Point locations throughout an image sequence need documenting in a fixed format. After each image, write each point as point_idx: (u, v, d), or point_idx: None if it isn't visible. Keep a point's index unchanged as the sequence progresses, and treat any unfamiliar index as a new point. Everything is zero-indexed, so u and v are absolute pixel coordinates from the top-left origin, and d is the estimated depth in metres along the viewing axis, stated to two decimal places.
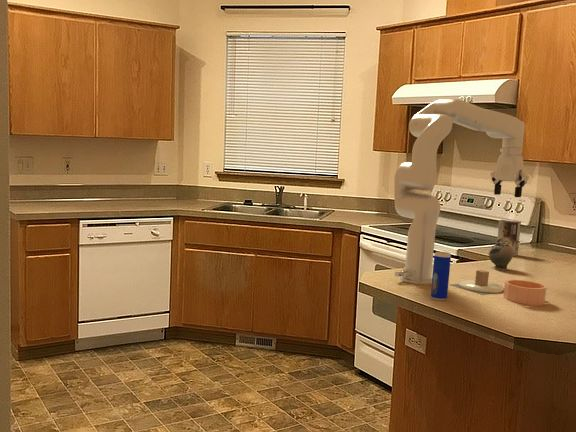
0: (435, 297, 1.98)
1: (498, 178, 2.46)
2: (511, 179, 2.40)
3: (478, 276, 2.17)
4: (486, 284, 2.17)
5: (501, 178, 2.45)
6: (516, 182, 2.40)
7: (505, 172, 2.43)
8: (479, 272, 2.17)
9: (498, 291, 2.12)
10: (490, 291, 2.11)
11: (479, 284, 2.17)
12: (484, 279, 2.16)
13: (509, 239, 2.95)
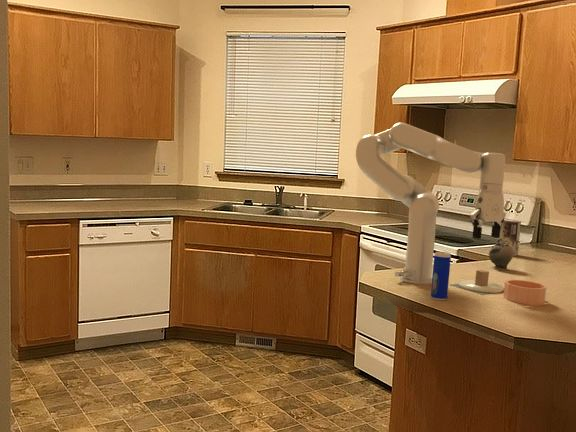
0: (435, 297, 1.98)
1: (488, 220, 2.12)
2: (500, 219, 2.15)
3: (478, 276, 2.17)
4: (486, 284, 2.17)
5: (491, 219, 2.12)
6: (499, 221, 2.17)
7: (495, 212, 2.13)
8: (479, 272, 2.17)
9: (498, 291, 2.12)
10: (490, 291, 2.11)
11: (479, 284, 2.17)
12: (484, 279, 2.16)
13: (509, 239, 2.95)
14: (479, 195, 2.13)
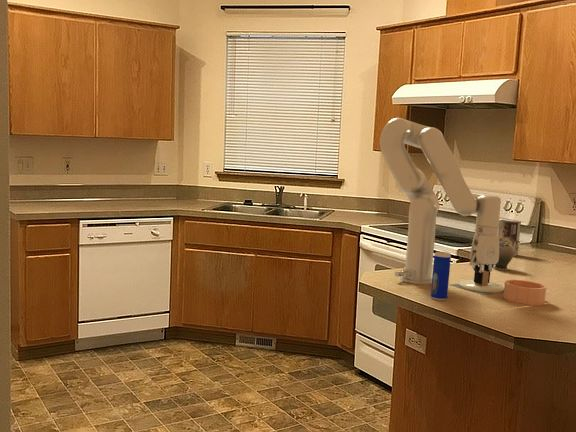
0: (435, 297, 1.98)
1: (484, 262, 2.13)
2: (496, 261, 2.17)
3: None
4: (486, 284, 2.17)
5: (487, 262, 2.14)
6: (490, 266, 2.18)
7: (491, 254, 2.15)
8: None
9: (498, 291, 2.12)
10: (490, 291, 2.11)
11: (479, 284, 2.17)
12: (484, 279, 2.16)
13: (509, 239, 2.95)
14: (475, 237, 2.15)
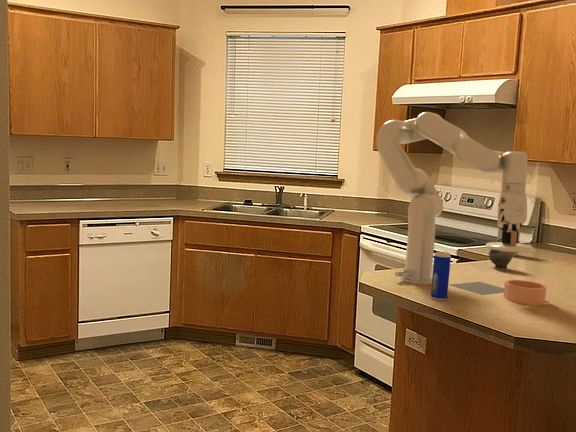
0: (435, 297, 1.98)
1: (512, 221, 2.04)
2: (524, 220, 2.08)
3: None
4: (515, 244, 2.08)
5: (515, 220, 2.05)
6: (518, 225, 2.09)
7: (519, 213, 2.06)
8: None
9: (528, 250, 2.03)
10: (520, 250, 2.02)
11: (507, 244, 2.08)
12: (512, 239, 2.07)
13: None
14: (502, 196, 2.06)
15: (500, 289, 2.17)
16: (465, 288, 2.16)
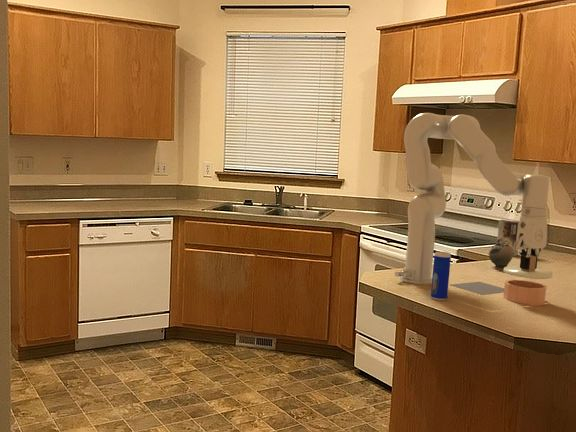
0: (435, 297, 1.98)
1: (532, 246, 1.99)
2: (544, 245, 2.02)
3: None
4: (533, 270, 2.03)
5: (534, 246, 1.99)
6: (538, 250, 2.03)
7: (538, 238, 2.00)
8: None
9: (547, 277, 1.97)
10: (539, 277, 1.96)
11: (526, 270, 2.02)
12: (531, 264, 2.02)
13: (509, 239, 2.95)
14: (521, 220, 2.00)
15: (500, 289, 2.17)
16: (465, 288, 2.16)
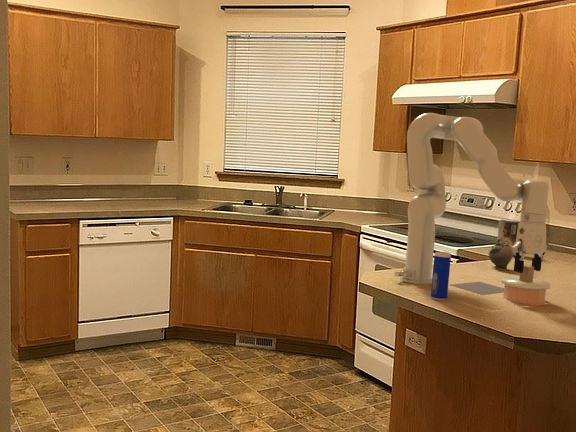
0: (435, 297, 1.98)
1: (531, 252, 1.99)
2: (543, 251, 2.02)
3: (523, 271, 2.03)
4: (531, 280, 2.03)
5: (533, 252, 2.00)
6: (541, 254, 2.04)
7: (537, 244, 2.00)
8: (524, 267, 2.03)
9: (545, 287, 1.98)
10: (537, 287, 1.97)
11: (524, 280, 2.03)
12: (529, 275, 2.02)
13: (509, 239, 2.95)
14: (520, 226, 2.00)
15: (500, 289, 2.17)
16: (465, 288, 2.16)
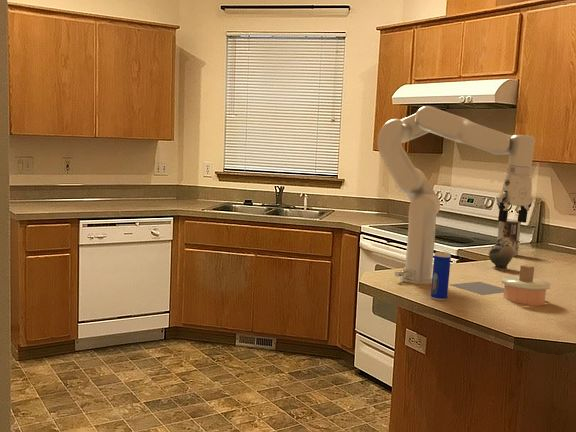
0: (435, 297, 1.98)
1: (515, 203, 2.07)
2: (528, 203, 2.10)
3: (523, 271, 2.03)
4: (531, 280, 2.03)
5: (518, 203, 2.08)
6: (526, 206, 2.12)
7: (522, 196, 2.09)
8: (524, 267, 2.03)
9: (545, 287, 1.98)
10: (537, 287, 1.97)
11: (524, 280, 2.03)
12: (529, 275, 2.02)
13: (509, 239, 2.95)
14: (506, 178, 2.09)
15: (500, 289, 2.17)
16: (465, 288, 2.16)
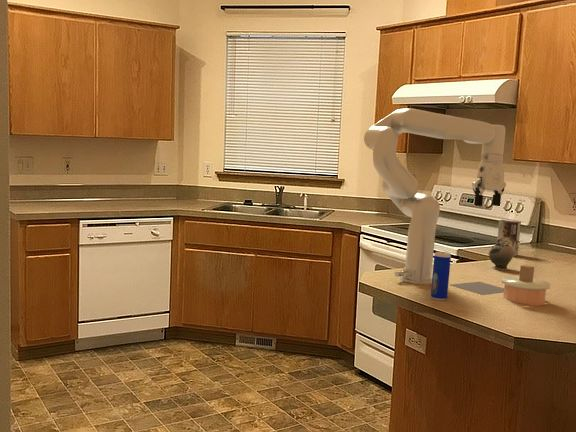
0: (435, 297, 1.98)
1: (489, 188, 2.23)
2: (501, 188, 2.27)
3: (523, 271, 2.03)
4: (531, 280, 2.03)
5: (492, 188, 2.24)
6: (500, 190, 2.29)
7: (496, 181, 2.25)
8: (524, 267, 2.03)
9: (545, 287, 1.98)
10: (537, 287, 1.97)
11: (524, 280, 2.03)
12: (529, 275, 2.02)
13: (509, 239, 2.95)
14: (480, 165, 2.25)
15: (500, 289, 2.17)
16: (465, 288, 2.16)
